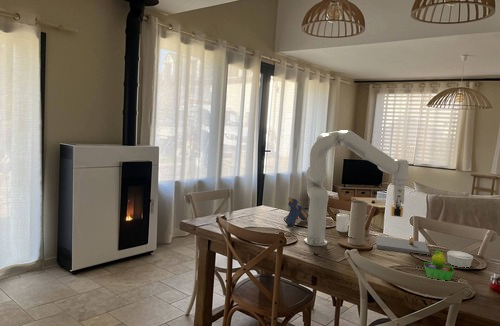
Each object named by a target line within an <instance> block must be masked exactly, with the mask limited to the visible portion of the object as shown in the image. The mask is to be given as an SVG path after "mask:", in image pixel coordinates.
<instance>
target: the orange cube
mask: <svg viewBox="0 0 500 326" xmlns="http://www.w3.org/2000/svg"><path fill="white" fill-rule="evenodd" d="M390 207H391V208H390V216H391V217H392V216H393V217H395V216H394V208H395V205H394V204H391V206H390ZM403 214H404V206H403V205H401V214H400V216H397V217H399V218H403V217H404V216H403Z"/></svg>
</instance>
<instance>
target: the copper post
mask: <svg viewBox="0 0 500 326" xmlns="http://www.w3.org/2000/svg"><path fill="white" fill-rule="evenodd" d="M408 240H409V245H413V244H414V241H415V238H414V237H413V236H411V237H409V239H408Z"/></svg>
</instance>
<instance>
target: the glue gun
mask: <svg viewBox="0 0 500 326" xmlns="http://www.w3.org/2000/svg"><path fill="white" fill-rule="evenodd" d="M287 199H288V200H289V201H288V204H287V205H288V207H290V210H289V212H288V215H287V216H286V219H285V223H286V224H287V226H291V227H294V226H295V223H296V222H297V220H299V219H300V220H301V221H305V222H308V216H309V212H307V211H306V210H305V208H304V207H303V206H302V205H298V203H299V201H298V200H297V199H296V198H292V197H288V198H287Z"/></svg>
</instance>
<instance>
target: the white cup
mask: <svg viewBox="0 0 500 326" xmlns="http://www.w3.org/2000/svg"><path fill="white" fill-rule="evenodd" d="M335 219H336V221H335V222H336V223H335V224H336V225H335V227H336V228H335V230H336V231H337V232H340V233H347V232H348V229H349V224H350V214H347V213H336V218H335Z"/></svg>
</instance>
